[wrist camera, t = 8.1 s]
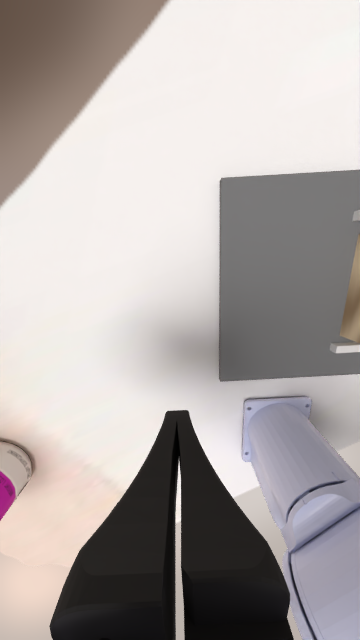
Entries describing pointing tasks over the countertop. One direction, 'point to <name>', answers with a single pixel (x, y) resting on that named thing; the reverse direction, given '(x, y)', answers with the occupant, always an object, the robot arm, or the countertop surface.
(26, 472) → the supplement can
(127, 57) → the countertop surface
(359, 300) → the maple t block
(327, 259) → the nest mat
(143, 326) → the countertop surface
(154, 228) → the countertop surface
